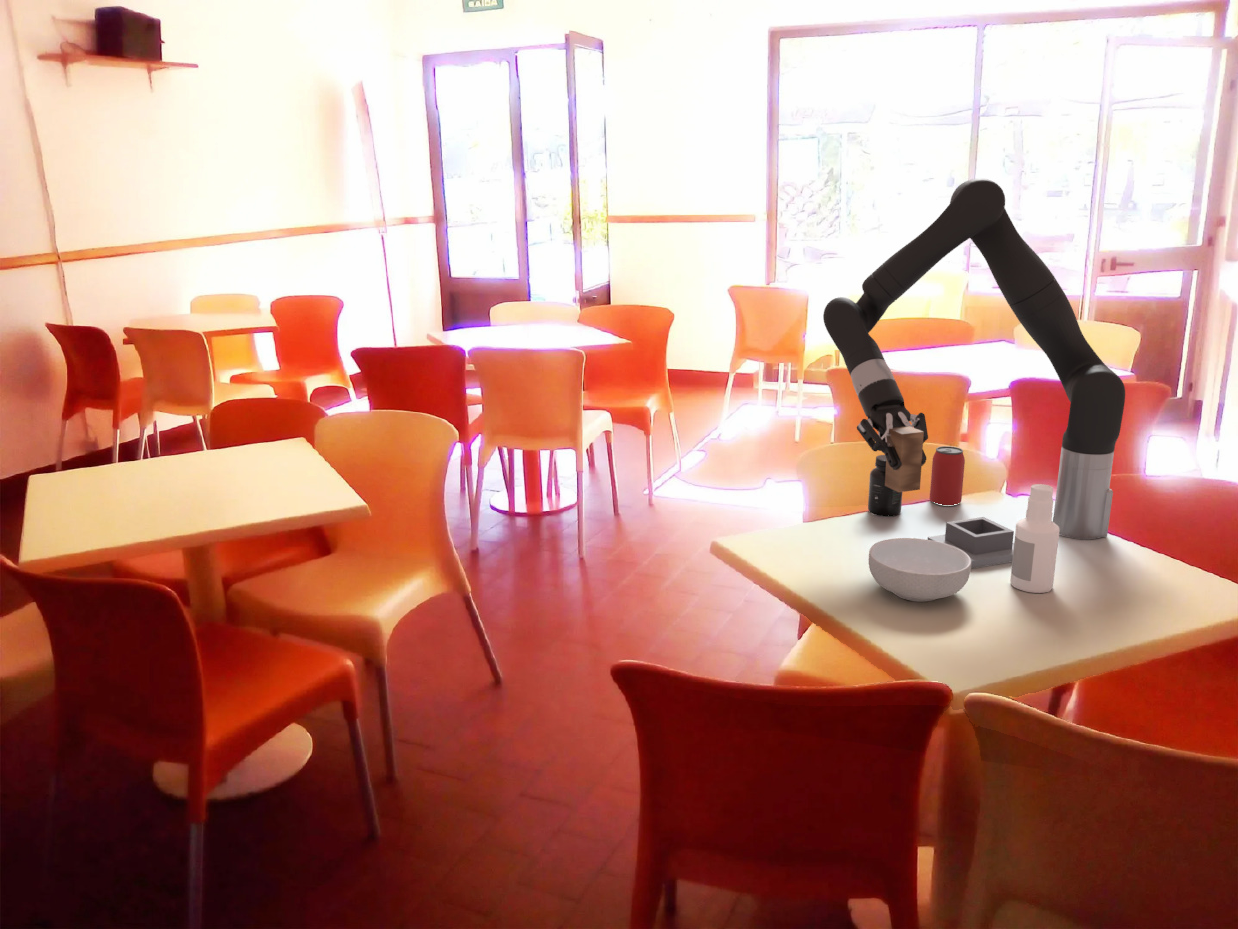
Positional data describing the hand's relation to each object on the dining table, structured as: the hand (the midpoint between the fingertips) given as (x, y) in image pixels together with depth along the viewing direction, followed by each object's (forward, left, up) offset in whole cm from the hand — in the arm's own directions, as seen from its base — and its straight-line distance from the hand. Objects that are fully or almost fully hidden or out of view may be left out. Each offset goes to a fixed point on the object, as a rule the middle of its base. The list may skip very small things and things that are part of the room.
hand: (910, 465), depth 175 cm
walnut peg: (+1, -2, -5) cm, 5 cm away
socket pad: (-14, -4, -18) cm, 23 cm away
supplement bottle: (0, -26, -18) cm, 31 cm away
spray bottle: (-20, +12, -18) cm, 29 cm away
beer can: (-14, -33, -18) cm, 40 cm away
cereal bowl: (0, +16, -18) cm, 24 cm away
